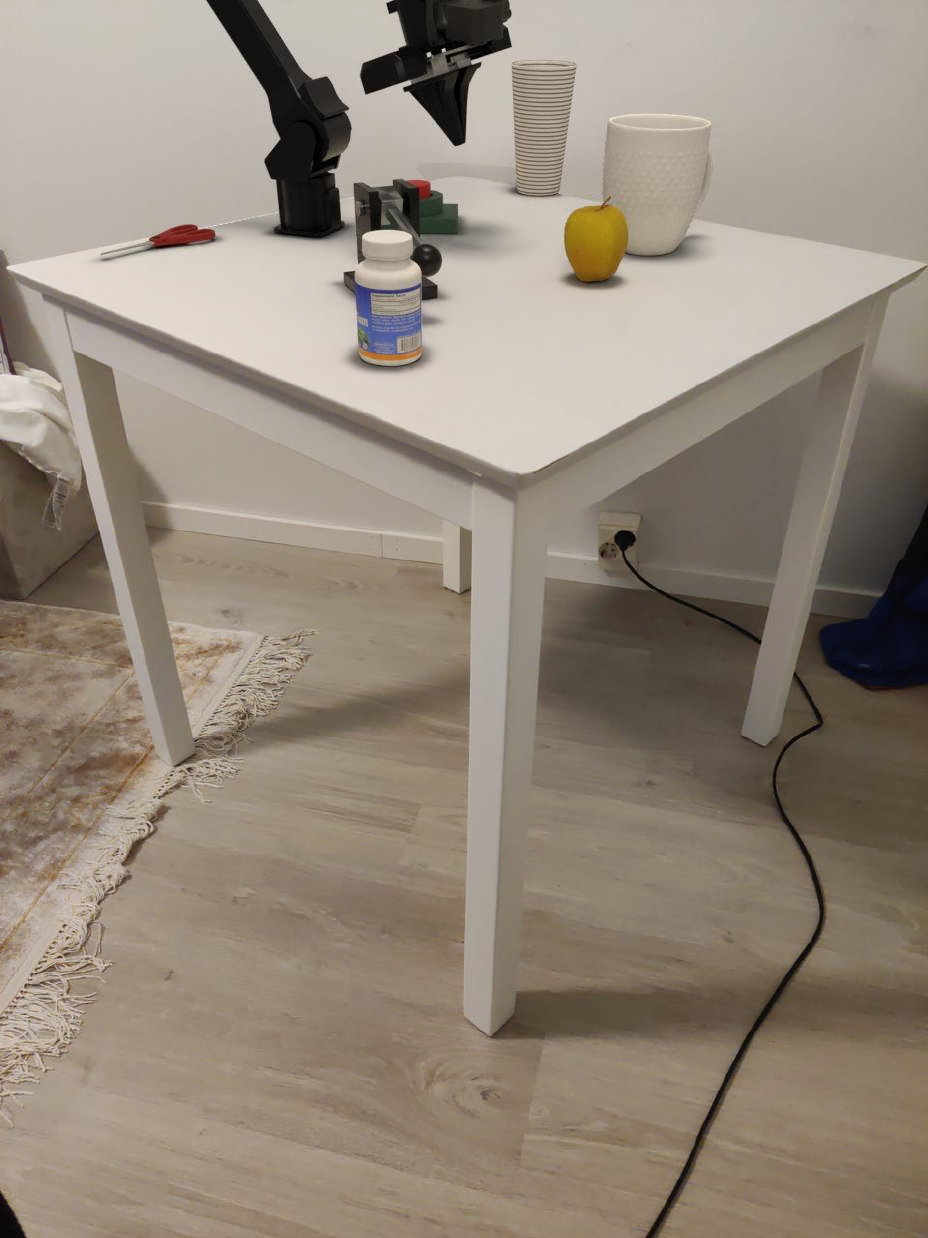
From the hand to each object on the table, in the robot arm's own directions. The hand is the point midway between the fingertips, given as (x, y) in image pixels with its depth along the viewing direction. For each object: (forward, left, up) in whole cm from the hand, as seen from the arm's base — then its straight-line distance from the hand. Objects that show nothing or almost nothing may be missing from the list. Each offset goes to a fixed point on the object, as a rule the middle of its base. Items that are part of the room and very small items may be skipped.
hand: (460, 144), depth 104 cm
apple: (+18, -8, -11) cm, 22 cm away
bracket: (0, -19, -10) cm, 22 cm away
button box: (-8, +6, -10) cm, 14 cm away
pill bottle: (+8, -36, -11) cm, 38 cm away
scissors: (-31, -15, -10) cm, 36 cm away
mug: (+21, +7, -11) cm, 24 cm away
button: (-8, +6, -7) cm, 12 cm away
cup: (0, +30, -11) cm, 32 cm away
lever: (+3, -22, -5) cm, 23 cm away
